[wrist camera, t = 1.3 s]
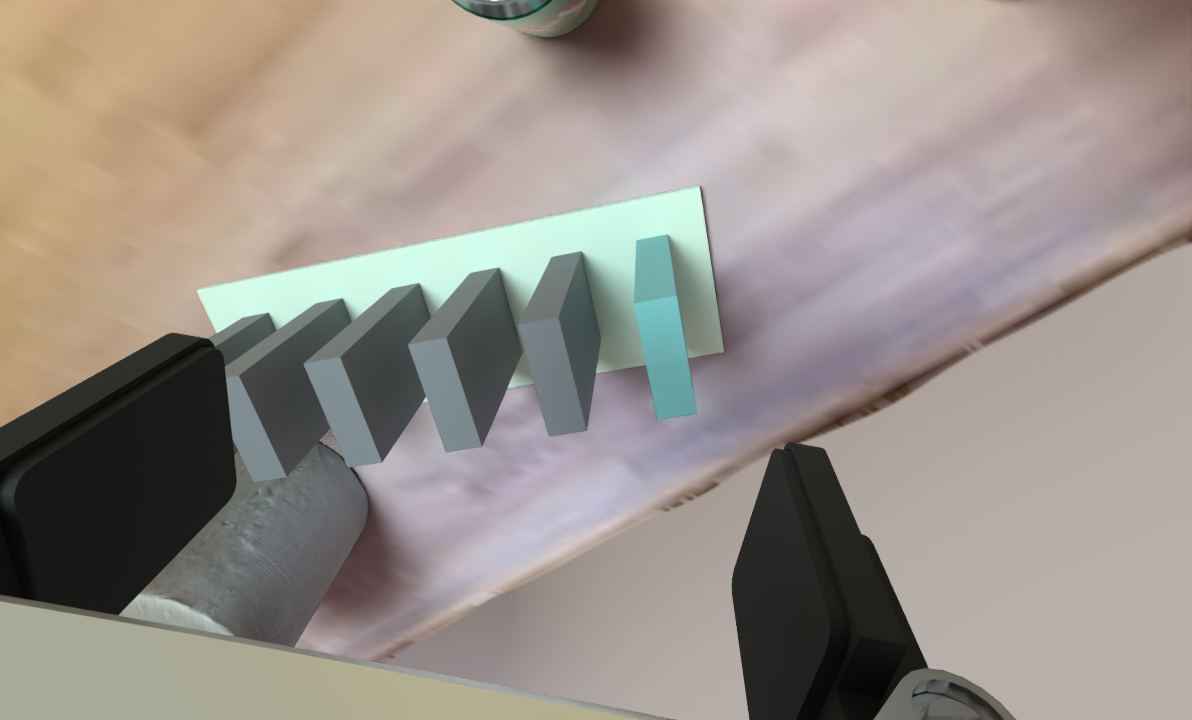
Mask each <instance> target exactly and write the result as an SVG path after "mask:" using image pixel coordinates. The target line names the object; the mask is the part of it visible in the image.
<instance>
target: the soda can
mask: <svg viewBox="0 0 1192 720" xmlns="http://www.w3.org/2000/svg"><path fill="white" fill-rule="evenodd" d="M452 1H453V2H454V3H456V4H457V5H458V6H460V7H461V8H463V9H464V10H466V11H468V12H470V13H472V14H474V15H476V16H479V17H482V18H484V19H487V20H490V21H493V22H496V23H499V24H502V25H505V26H508V27H511V28H513V29H516V30H519V31H522V32H525V33H528V34H531V35H535V36H538V37H556V36H560V35H564V34H566V33H568V32H571V31H572V30H574V29H575V28H577V27H578V26H580V25H581V24H582V23H583V22H584V21H585V20H586V19H587V17H588V16H589V15H590V14H591V12H592V10H593V9H594V7H595V5H596V3H597V0H452Z"/></svg>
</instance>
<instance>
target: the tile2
mask: <svg viewBox="0 0 1192 720" xmlns="http://www.w3.org/2000/svg"><path fill="white" fill-rule="evenodd" d="M518 327H519V331H520V335H521V338H522V342H523V345H524V349H525V352H526V356H527V360H528V363H529V367H530V370H531V374H532V378H533V381H534V385H535V388H536V392H537V395H538V399H539V403H540V406H541V410H542V413H543V417H544V421H545V424H546V428H547V431H548V435H549V436H556V435H562V434H569V433H575V432H582V431H587V426H588V420H589V414H590V407H591V401H592V395H593V388H594V382H595V376H596V369H597V363H598V357H599V350H600V344H601V335H600V331H599V326H598V322H597V318H596V313H595V309H594V304H593V300H592V296H591V291H590V287H589V282H588V278H587V274H586V269H585V265H584V260H583V256H582V252H581V251H579V252H574V253H569V254H564V255H559V256H554V257H551V259H550V261H549V263H548V265H547V267H546V269H545V271H544V273H543V275H542V277H541V279H540V281H539V283H538V285H537V287H536V289H535V291H534V293H533V295H532V297H531V299H530V301H529V303H528V305H527V307H526V309H525V311H524V313H523V315H522V317H521V319H520V321H519V323H518Z"/></svg>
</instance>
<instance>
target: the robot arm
mask: <svg viewBox="0 0 1192 720" xmlns="http://www.w3.org/2000/svg"><path fill="white" fill-rule="evenodd" d="M236 484H237V476H236V467H235V457H234V448H233V438H232V429H231V420H230V410H229V401H228V391H227V382H226V372H225V363H224V357H223V354H222V352H221V351H220V350H218V349H216V348H215V346H214V344H213V342H212V341H210V340H209V339H206V338H200V337H195V336H189V335H183V334H178V333H170V334H167V335H165V336H163V337H162V338H160V339H158V340H156V341H154V342H153V343H151V344H149V345H147V346H145V347H144V348H142V349H140V350H138V351H136V352H135V353H133V354H131V355H129V356H128V357H126V358H124V359H122V360H120V361H119V362H117V363H115V364H113V365H111V366H110V367H108V368H106V369H104V370H102V371H101V372H99V373H97V374H95V375H94V376H92V377H90V378H88V379H86V380H85V381H83V382H81V383H79V384H77V385H76V386H74V387H72V388H70V389H69V390H67V391H65V392H63V393H61V394H60V395H58V396H56V397H54V398H52V399H51V400H49V401H47V402H45V403H43V404H42V405H40V406H38V407H36V408H35V409H33V410H31V411H29V412H27V413H26V414H24V415H22V416H20V417H18V418H17V419H15V420H13V421H11V422H9V423H8V424H6V425H4V426H2V427H1V428H0V720H675V719H669V718H664V717H658V716H654V715H649V714H644V713H640V712H635V711H630V710H625V709H620V708H615V707H610V706H604V705H599V704H594V703H589V702H584V701H578V700H573V699H568V698H563V697H557V696H552V695H547V694H541V693H536V692H531V691H526V690H521V689H515V688H510V687H505V686H500V685H494V684H489V683H484V682H478V681H473V680H467V679H463V678H457V677H452V676H447V675H441V674H436V673H431V672H425V671H420V670H415V669H409V668H404V667H398V666H392V665H388V664H382V663H377V662H372V661H366V660H361V659H355V658H350V657H345V656H339V655H334V654H328V653H323V652H317V651H312V650H306V649H301V648H296V647H290V646H285V645H279V644H274V643H268V642H263V641H257V640H252V639H246V638H241V637H235V636H230V635H224V634H219V633H213V632H208V631H202V630H197V629H191V628H185V627H180V626H174V625H168V624H163V623H157V622H152V621H146V620H140V619H135V618H129V617H124V616H118V615H119V614H120V613H121V612H122V611H123V610H124V609H125V608H126V607H127V606H128V605H129V604H130V603H131V602H132V601H133V600H134V599H135V598H136V597H137V596H138V595H139V594H140V593H141V592H142V591H143V590H144V588H145V587H146V586H147V585H148V584H149V583H150V582H151V581H152V580H153V579H154V578H155V577H156V576H157V575H158V574H159V573H160V572H161V571H162V570H163V569H164V568H165V567H166V566H167V565H168V564H169V563H170V562H171V561H172V560H173V559H174V558H175V557H176V556H177V555H178V553H179V552H180V551H181V550H182V549H183V548H184V547H185V546H186V545H187V544H188V543H189V542H190V541H191V540H192V539H193V538H194V537H195V536H196V535H197V534H198V533H199V532H200V531H201V530H202V529H203V528H204V527H205V526H206V525H207V524H208V523H209V522H210V521H211V520H212V518H213V517H214V516H215V515H216V514H217V513H218V512H219V511H220V510H221V509H222V508H223V507H224V506H225V505H226V504H227V503H228V502H229V501H230V499H231V498H232V496H233V494H234V492H235V489H236ZM732 597H733V604H734V611H735V618H736V626H737V633H738V640H739V647H740V654H741V662H742V669H743V676H744V683H745V690H746V698H747V705H748V712H749V719H750V720H1016V719H1015V718H1014V717H1013V716H1012V715H1011V713H1009V711H1008V710H1007V709H1006V708H1005V707H1004V706H1003V705H1002V704H1001V703H1000V702H999V701H998V700H996V699H995V698H994V697H993V696H991V695H990V694H989V693H987V692H986V691H985V690H984V689H982V688H981V687H979V686H977V685H976V684H974V683H972V682H970V681H968V680H967V679H965V678H963V677H961V676H958V675H955V674H952V673H949V672H947V671H944V670H936V669H929V668H928V666H927V663H926V661H925V659H924V657H923V654H922V652H921V650H920V648H919V645H918V643H917V641H916V639H915V637H914V634H913V632H912V630H911V628H910V625H909V623H908V621H907V619H906V616H905V614H904V612H903V610H902V607H901V605H900V603H899V601H898V598H897V596H896V594H895V592H894V589H893V587H892V585H891V583H890V580H889V578H888V576H887V574H886V571H885V569H884V567H883V565H882V562H881V560H880V558H879V556H878V553H877V551H876V549H875V547H874V545H873V543H872V541H871V540H870V538H868V537H867V536H865V535H862V534H861V532H860V530H859V528H858V525H857V523H856V521H855V518H854V516H853V514H852V511H851V509H850V507H849V504H848V502H847V500H846V497H845V495H844V493H843V490H842V488H841V486H840V483H839V481H838V479H837V476H836V474H835V472H834V469H833V467H832V465H831V462H830V460H829V458H828V455H827V453H826V451H825V450H824V449H823V448H820V447H814V446H808V445H803V444H797V443H792V442H789V443H787V444H786V446H785V447H784V449H783V450H782V449H774V450H773V452H772V454H771V456H770V460H769V463H768V466H767V469H766V472H765V475H764V478H763V481H762V485H761V488H760V491H759V494H758V497H757V500H756V503H755V506H754V509H753V512H752V515H751V518H750V522H749V525H748V528H747V531H746V534H745V537H744V540H743V543H742V547H741V550H740V553H739V556H738V559H737V562H736V565H735V568H734V572H733V577H732Z"/></svg>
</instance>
